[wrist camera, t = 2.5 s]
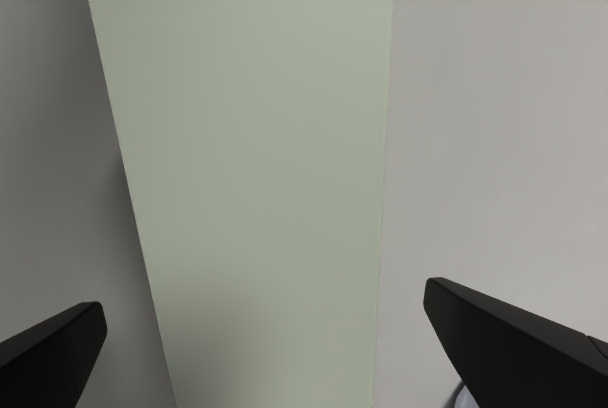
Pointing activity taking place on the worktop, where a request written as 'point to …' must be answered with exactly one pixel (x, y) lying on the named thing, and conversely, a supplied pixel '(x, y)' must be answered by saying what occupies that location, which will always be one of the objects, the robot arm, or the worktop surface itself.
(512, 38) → the worktop surface
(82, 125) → the worktop surface
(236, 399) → the rectangular block
